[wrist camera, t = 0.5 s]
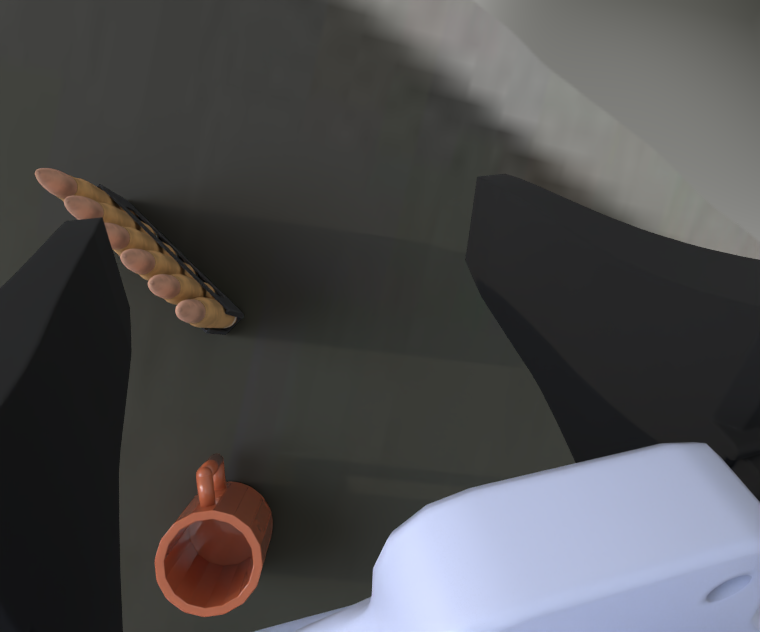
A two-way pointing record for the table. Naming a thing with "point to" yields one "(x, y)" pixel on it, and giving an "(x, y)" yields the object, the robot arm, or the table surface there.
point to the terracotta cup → (215, 545)
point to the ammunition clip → (146, 252)
